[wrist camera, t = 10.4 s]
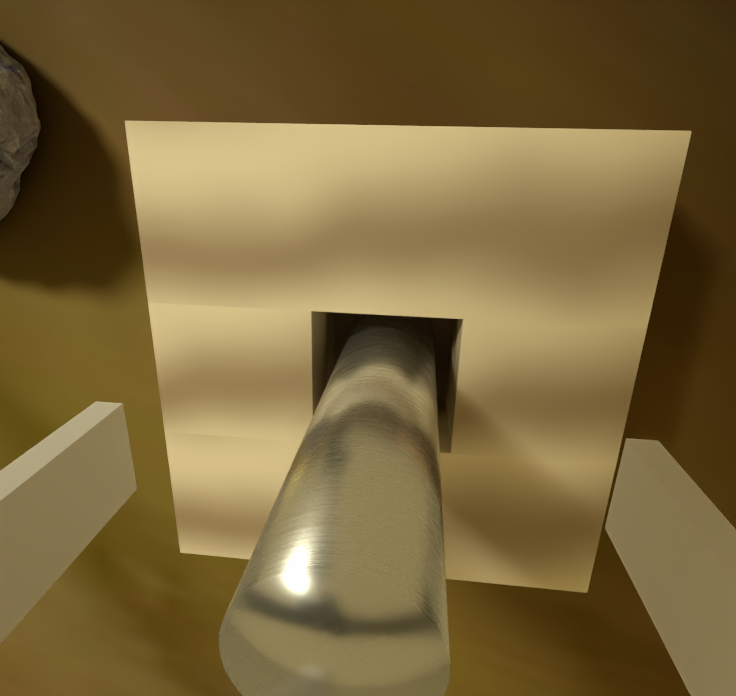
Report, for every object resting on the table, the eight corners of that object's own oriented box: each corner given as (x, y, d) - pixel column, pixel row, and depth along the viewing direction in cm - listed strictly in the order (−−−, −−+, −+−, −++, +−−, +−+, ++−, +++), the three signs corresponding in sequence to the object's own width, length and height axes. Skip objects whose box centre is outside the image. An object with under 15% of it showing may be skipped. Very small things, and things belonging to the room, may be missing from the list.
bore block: (200, 134, 22) (124, 120, 16) (617, 142, 20) (691, 130, 15) (228, 476, 28) (180, 552, 22) (552, 503, 26) (587, 592, 21)
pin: (350, 299, 23) (207, 559, 8) (437, 304, 22) (460, 585, 8) (349, 378, 24) (228, 724, 9) (430, 384, 24) (441, 753, 9)
